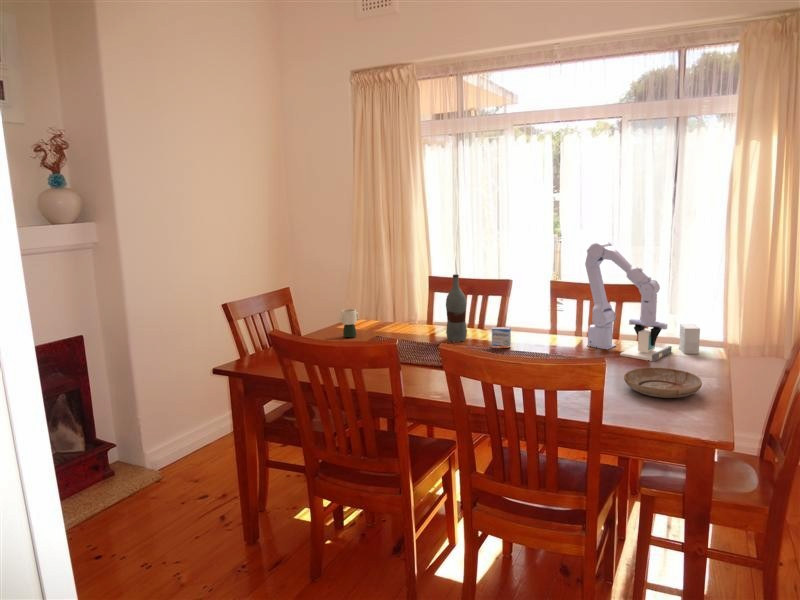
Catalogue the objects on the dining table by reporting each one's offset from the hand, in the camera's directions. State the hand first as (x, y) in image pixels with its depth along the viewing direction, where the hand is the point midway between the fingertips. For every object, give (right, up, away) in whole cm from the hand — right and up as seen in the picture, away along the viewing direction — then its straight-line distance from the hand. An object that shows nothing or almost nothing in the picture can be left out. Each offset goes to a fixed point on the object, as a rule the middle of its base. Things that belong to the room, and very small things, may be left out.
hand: (647, 344), depth 241 cm
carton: (0, -2, 0) cm, 2 cm away
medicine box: (-55, -3, +18) cm, 58 cm away
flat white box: (0, -4, +1) cm, 4 cm away
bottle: (-73, -1, +32) cm, 80 cm away
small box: (+18, -3, +2) cm, 18 cm away
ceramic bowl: (-12, -13, -42) cm, 46 cm away
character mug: (-123, 0, +45) cm, 131 cm away
